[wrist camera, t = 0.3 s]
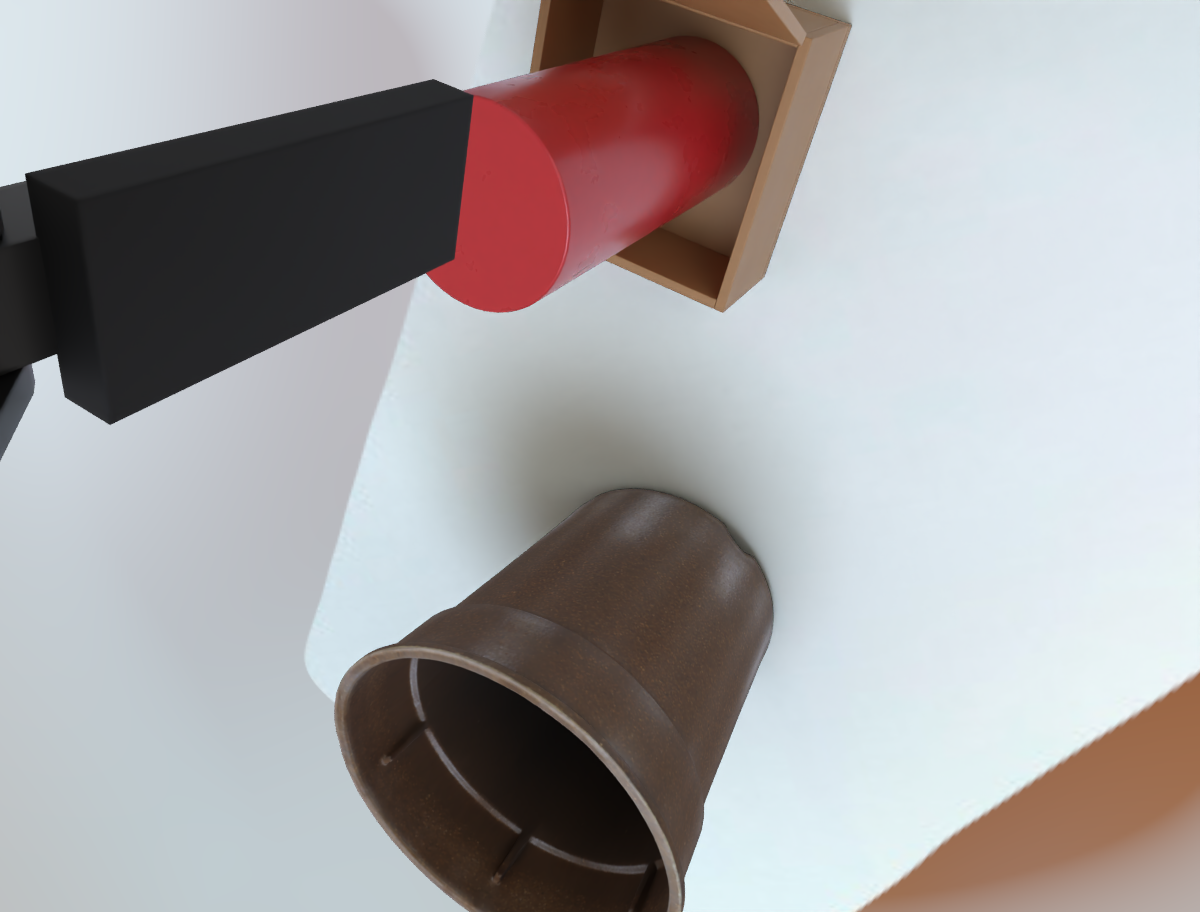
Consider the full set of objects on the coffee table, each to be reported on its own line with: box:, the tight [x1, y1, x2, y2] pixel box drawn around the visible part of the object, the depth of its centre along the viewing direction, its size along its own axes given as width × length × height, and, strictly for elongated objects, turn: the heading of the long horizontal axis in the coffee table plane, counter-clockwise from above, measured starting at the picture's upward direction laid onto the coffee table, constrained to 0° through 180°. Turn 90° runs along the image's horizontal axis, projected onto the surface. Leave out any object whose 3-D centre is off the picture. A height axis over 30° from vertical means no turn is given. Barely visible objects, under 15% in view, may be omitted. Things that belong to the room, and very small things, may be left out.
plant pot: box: [334, 489, 773, 912], centre depth 42 cm, size 16×16×16 cm
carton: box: [530, 0, 851, 313], centre depth 35 cm, size 10×10×4 cm
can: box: [426, 36, 759, 313], centre depth 31 cm, size 6×6×14 cm
